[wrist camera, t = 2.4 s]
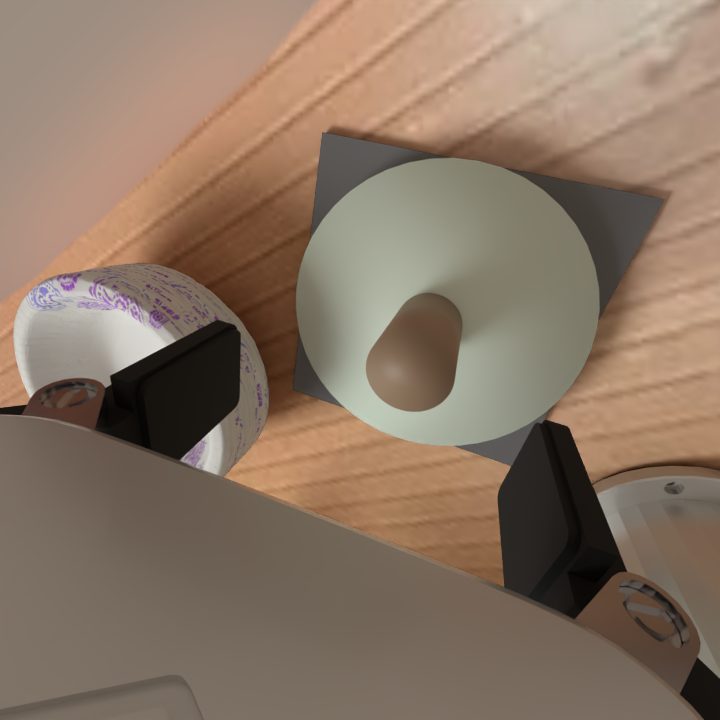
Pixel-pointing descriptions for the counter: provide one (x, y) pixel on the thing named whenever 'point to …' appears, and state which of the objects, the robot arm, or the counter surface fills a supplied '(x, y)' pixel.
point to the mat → (580, 201)
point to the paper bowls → (134, 341)
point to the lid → (447, 301)
